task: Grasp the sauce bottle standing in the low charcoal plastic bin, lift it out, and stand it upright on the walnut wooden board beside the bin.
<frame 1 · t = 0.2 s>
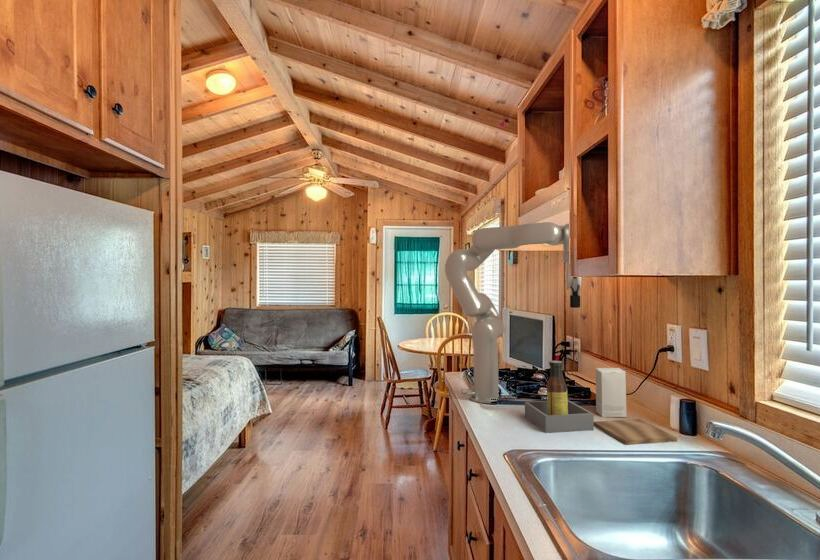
hand: (575, 306, 150), 37 cm above the countertop, tool pointing down, fingers open, 9 cm apart
bin: (557, 422, 137), on the countertop
sauce bottle: (557, 423, 137), resting in bin
skincare box: (610, 415, 146), on the countertop
board: (633, 433, 128), on the countertop
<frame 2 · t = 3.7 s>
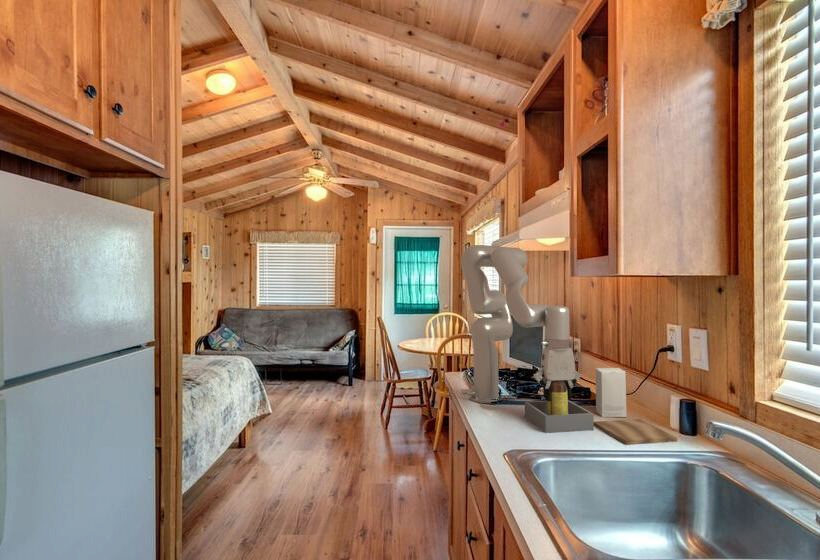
hand: (557, 399, 137), 8 cm above the countertop, tool pointing down, fingers closed on sauce bottle, 6 cm apart
sauce bottle: (557, 423, 137), resting in bin, touching gripper
everything else where it was.
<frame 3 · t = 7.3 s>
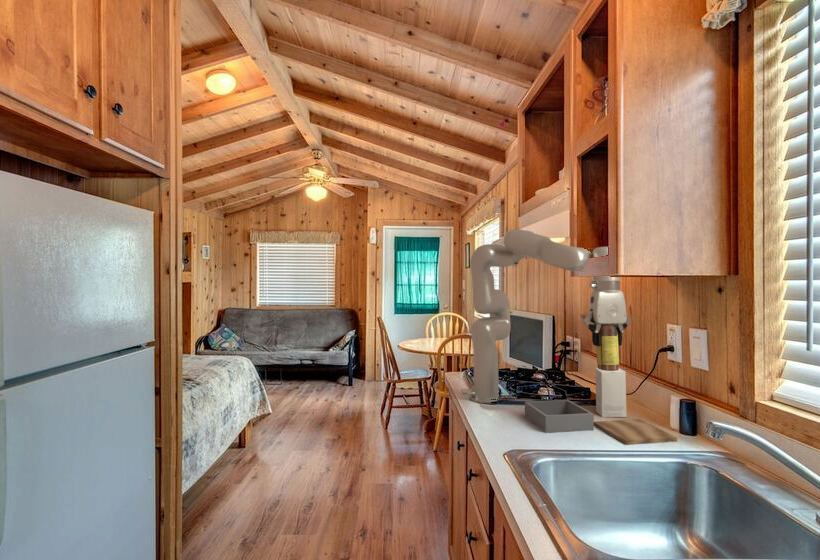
hand: (607, 344, 131), 26 cm above the countertop, tool pointing down, fingers closed on sauce bottle, 6 cm apart
sauce bottle: (607, 370, 131), point 18 cm above the countertop, touching gripper
everything else where it was.
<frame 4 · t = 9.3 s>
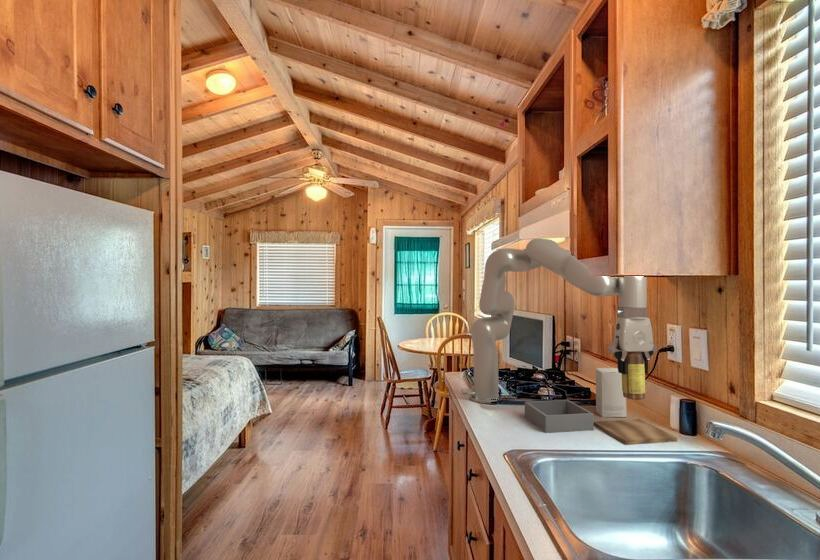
hand: (632, 372, 128), 18 cm above the countertop, tool pointing down, fingers closed on sauce bottle, 6 cm apart
sauce bottle: (633, 398, 128), point 10 cm above the countertop, touching gripper
everything else where it was.
when the fingers open (10 cm above the countertop, at t = 11.2 s): sauce bottle drops 1 cm, resting on board.
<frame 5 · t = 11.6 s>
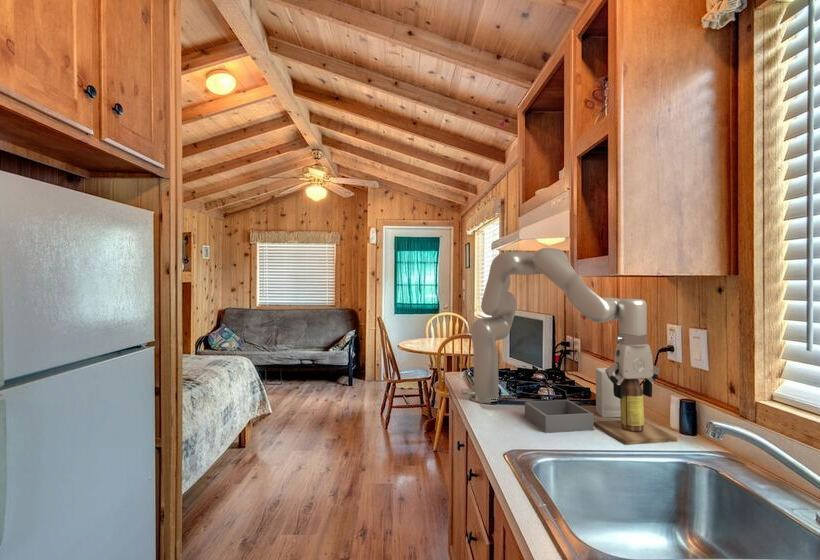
hand: (632, 396, 128), 11 cm above the countertop, tool pointing down, fingers open, 9 cm apart
sauce bottle: (631, 429, 128), point 1 cm above the countertop, touching board
everything else where it was.
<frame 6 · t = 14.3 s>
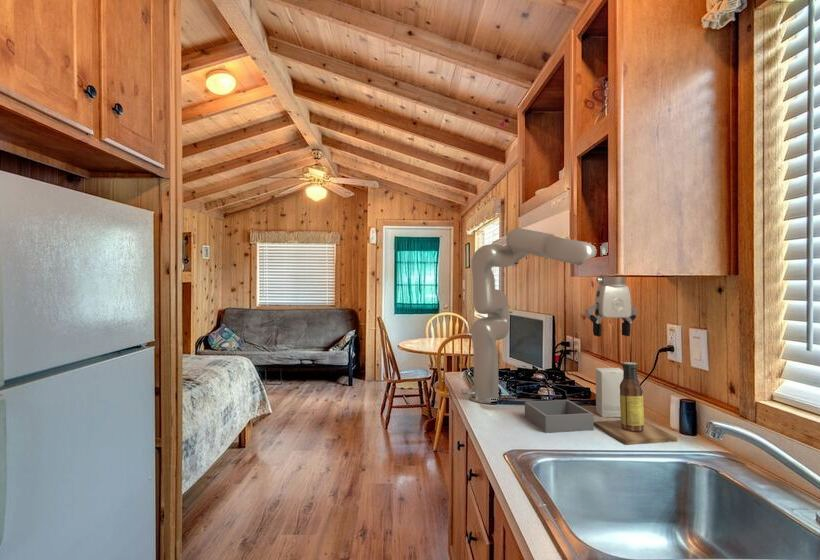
hand: (611, 335, 134), 29 cm above the countertop, tool pointing down, fingers open, 9 cm apart
nothing on the countertop moved.
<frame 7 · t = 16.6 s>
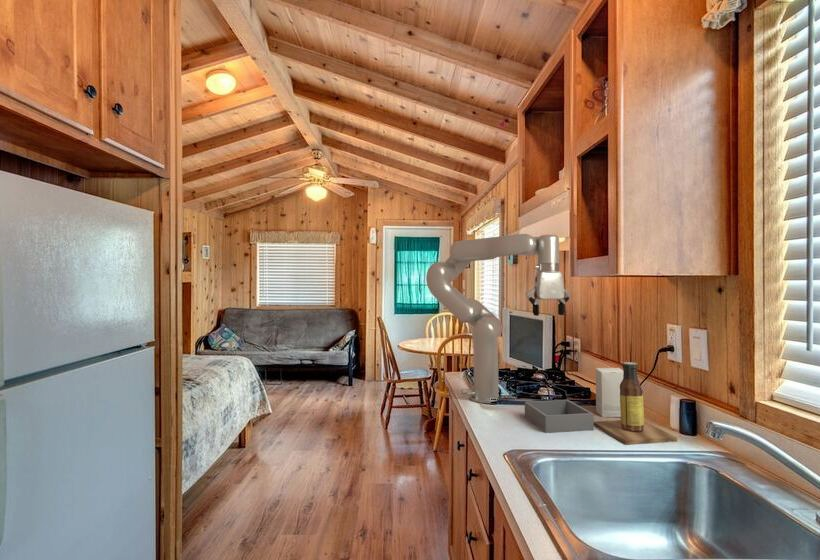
hand: (548, 315, 156), 33 cm above the countertop, tool pointing down, fingers open, 9 cm apart
nothing on the countertop moved.
at the end: sauce bottle inside the target area on the board (0.3 cm from its centre), point 1.0 cm above the board's base; sauce bottle tilted 0°; the gripper is holding nothing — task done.
